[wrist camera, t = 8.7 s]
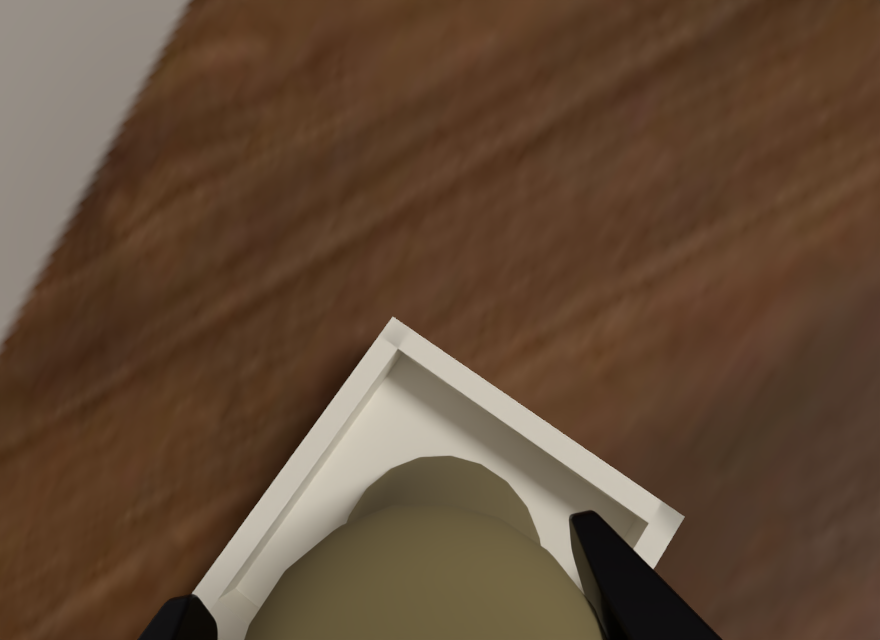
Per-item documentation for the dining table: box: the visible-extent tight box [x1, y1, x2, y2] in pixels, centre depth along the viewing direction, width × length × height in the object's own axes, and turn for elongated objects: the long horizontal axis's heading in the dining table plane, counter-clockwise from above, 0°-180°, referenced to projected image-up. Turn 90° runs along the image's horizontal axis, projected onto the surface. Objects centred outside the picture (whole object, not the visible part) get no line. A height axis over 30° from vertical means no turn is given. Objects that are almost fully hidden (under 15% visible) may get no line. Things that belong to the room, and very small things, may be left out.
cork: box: [244, 456, 608, 640], centre depth 11 cm, size 6×6×11 cm
